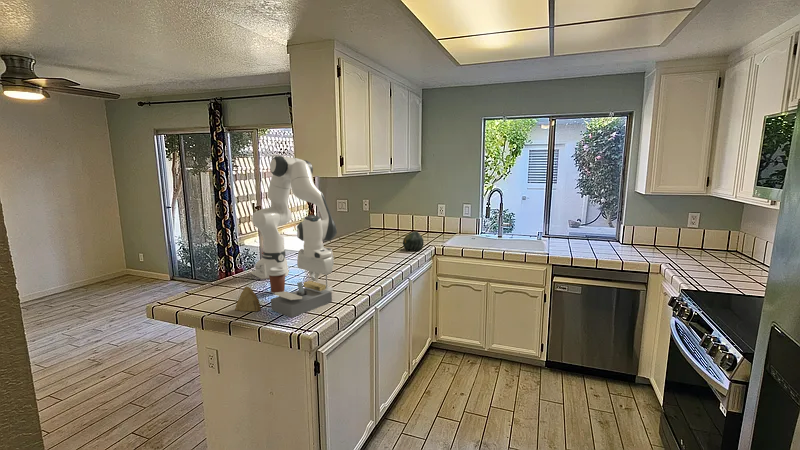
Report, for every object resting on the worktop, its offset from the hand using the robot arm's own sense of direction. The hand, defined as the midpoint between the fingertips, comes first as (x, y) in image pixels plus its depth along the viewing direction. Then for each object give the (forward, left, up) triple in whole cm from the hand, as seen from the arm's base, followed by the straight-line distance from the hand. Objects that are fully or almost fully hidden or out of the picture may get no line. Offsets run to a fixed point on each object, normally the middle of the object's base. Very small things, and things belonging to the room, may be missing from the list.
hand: (314, 280), depth 181 cm
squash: (-24, +116, -10) cm, 119 cm away
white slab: (0, -15, -4) cm, 16 cm away
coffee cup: (-25, -2, -10) cm, 27 cm away
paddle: (0, -8, -4) cm, 9 cm away
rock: (-15, -25, -10) cm, 31 cm away
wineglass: (-8, +15, -10) cm, 20 cm away
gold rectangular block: (0, 0, -4) cm, 4 cm away
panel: (0, -8, -10) cm, 13 cm away
